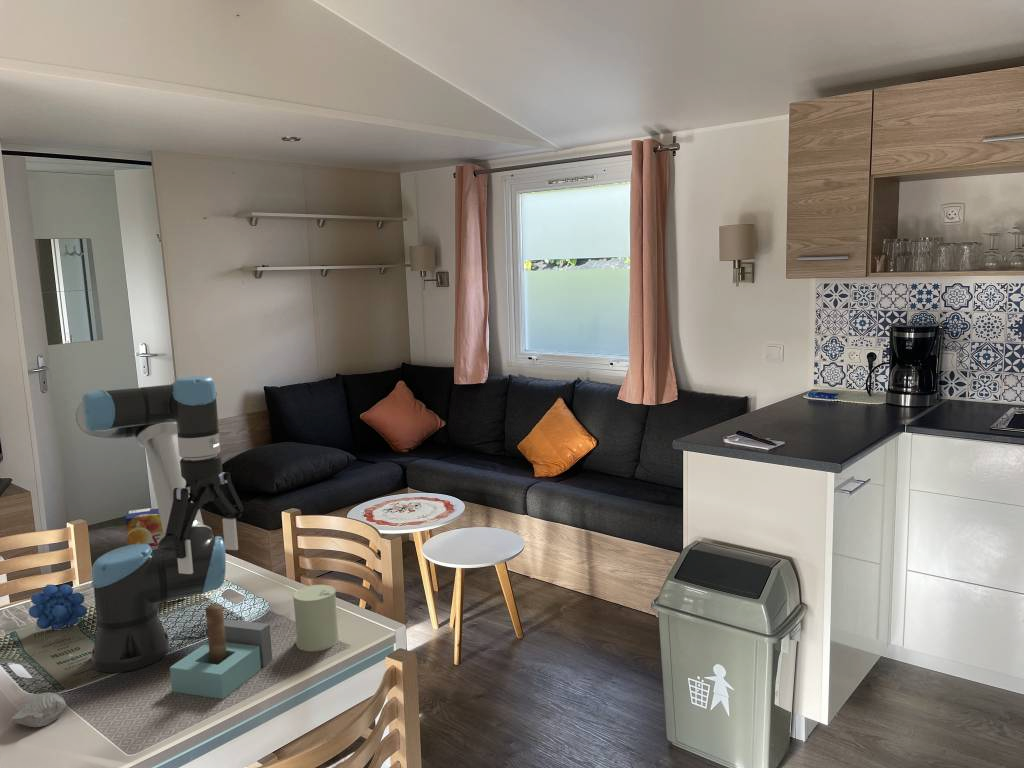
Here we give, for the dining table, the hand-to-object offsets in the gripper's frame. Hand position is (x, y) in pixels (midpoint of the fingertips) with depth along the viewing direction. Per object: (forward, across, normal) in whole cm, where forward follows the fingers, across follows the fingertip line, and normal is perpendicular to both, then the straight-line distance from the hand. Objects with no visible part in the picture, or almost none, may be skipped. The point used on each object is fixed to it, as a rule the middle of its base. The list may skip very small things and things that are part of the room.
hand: (209, 560), depth 155 cm
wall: (+25, +8, 0) cm, 26 cm away
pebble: (+25, -21, +23) cm, 40 cm away
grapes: (+25, +9, +51) cm, 57 cm away
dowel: (+25, 0, 0) cm, 25 cm away
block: (+25, -1, 0) cm, 25 cm away
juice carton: (+25, +29, +40) cm, 55 cm away
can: (+25, +19, -11) cm, 33 cm away
